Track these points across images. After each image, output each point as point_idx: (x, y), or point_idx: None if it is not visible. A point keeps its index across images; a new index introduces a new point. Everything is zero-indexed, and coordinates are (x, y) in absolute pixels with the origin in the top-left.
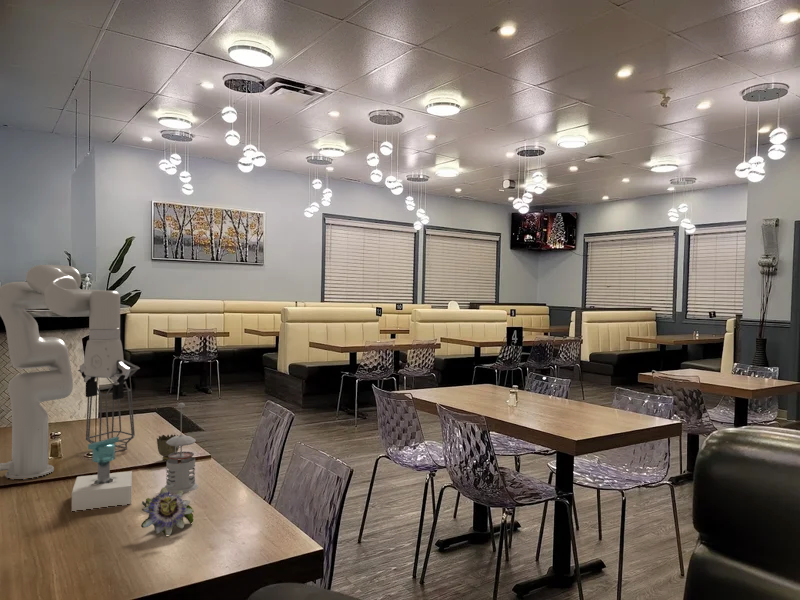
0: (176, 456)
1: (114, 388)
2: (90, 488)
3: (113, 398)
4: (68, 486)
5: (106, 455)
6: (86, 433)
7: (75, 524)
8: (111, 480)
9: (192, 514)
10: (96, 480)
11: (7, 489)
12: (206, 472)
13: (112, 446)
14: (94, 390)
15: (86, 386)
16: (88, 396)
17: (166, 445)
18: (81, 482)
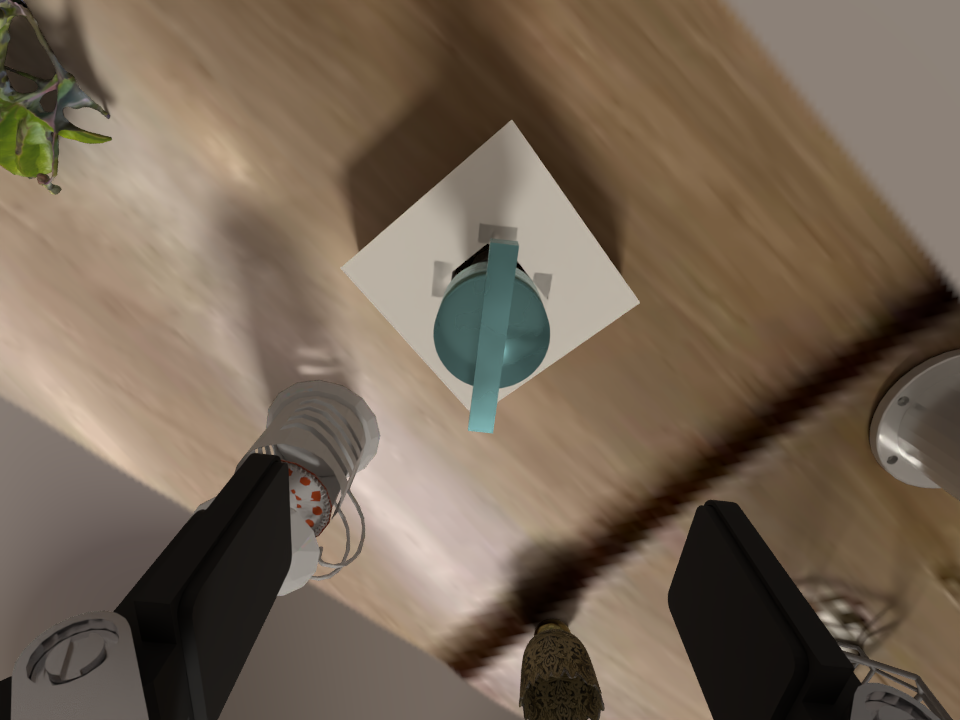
0: (292, 491)
1: (174, 556)
2: (475, 192)
3: (260, 456)
4: (712, 345)
5: (446, 291)
6: (935, 699)
7: (397, 15)
8: None
9: (8, 170)
10: None
11: (928, 258)
12: (350, 563)
13: (434, 336)
14: (699, 628)
15: (795, 607)
16: (700, 509)
17: (543, 660)
18: (569, 246)
